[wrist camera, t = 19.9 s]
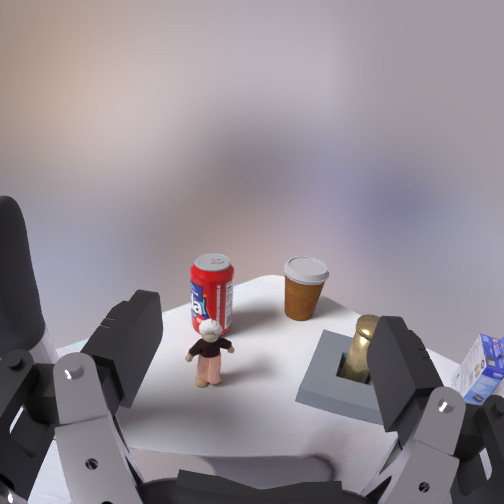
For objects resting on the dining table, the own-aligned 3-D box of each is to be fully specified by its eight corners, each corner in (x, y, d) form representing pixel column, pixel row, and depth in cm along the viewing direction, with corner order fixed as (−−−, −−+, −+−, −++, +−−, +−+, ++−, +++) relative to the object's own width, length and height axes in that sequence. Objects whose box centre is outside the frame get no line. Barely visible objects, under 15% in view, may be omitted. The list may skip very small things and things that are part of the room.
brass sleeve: (333, 388, 45) (355, 331, 40) (339, 368, 49) (359, 311, 44) (363, 396, 43) (389, 339, 38) (367, 375, 48) (390, 319, 42)
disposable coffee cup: (270, 304, 67) (276, 257, 62) (306, 298, 71) (315, 253, 66) (288, 329, 59) (298, 279, 54) (327, 320, 63) (339, 273, 58)
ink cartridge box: (473, 419, 35) (516, 361, 29) (450, 414, 37) (492, 355, 31) (471, 383, 43) (505, 328, 37) (450, 378, 45) (483, 321, 39)
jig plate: (295, 401, 42) (299, 387, 41) (319, 342, 56) (323, 329, 54) (387, 426, 37) (396, 413, 35) (394, 363, 50) (400, 350, 49)
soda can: (234, 338, 56) (238, 270, 49) (193, 341, 54) (191, 272, 47) (227, 314, 62) (230, 250, 56) (190, 316, 60) (189, 251, 54)
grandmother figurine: (195, 394, 42) (191, 336, 37) (185, 378, 45) (180, 320, 40) (237, 378, 46) (241, 320, 41) (225, 364, 49) (228, 306, 44)
